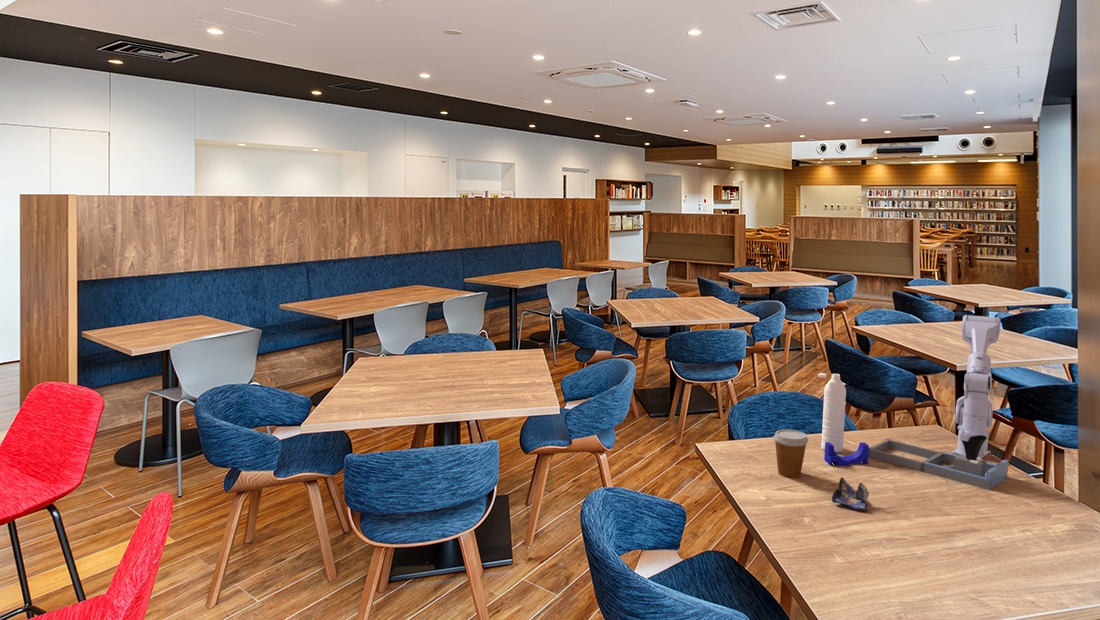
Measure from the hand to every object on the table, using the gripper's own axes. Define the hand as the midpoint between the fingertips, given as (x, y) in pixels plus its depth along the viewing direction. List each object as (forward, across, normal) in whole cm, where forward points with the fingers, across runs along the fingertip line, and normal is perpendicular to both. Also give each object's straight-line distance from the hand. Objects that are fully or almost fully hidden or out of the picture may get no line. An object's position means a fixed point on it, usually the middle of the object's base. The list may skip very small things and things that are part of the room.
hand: (971, 459), depth 194 cm
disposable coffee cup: (+5, +38, -35) cm, 52 cm away
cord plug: (+5, 0, -2) cm, 5 cm away
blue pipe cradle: (+5, +17, -28) cm, 33 cm away
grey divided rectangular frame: (+5, 0, -10) cm, 11 cm away
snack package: (+6, +43, -13) cm, 45 cm away
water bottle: (+5, +10, -38) cm, 39 cm away
